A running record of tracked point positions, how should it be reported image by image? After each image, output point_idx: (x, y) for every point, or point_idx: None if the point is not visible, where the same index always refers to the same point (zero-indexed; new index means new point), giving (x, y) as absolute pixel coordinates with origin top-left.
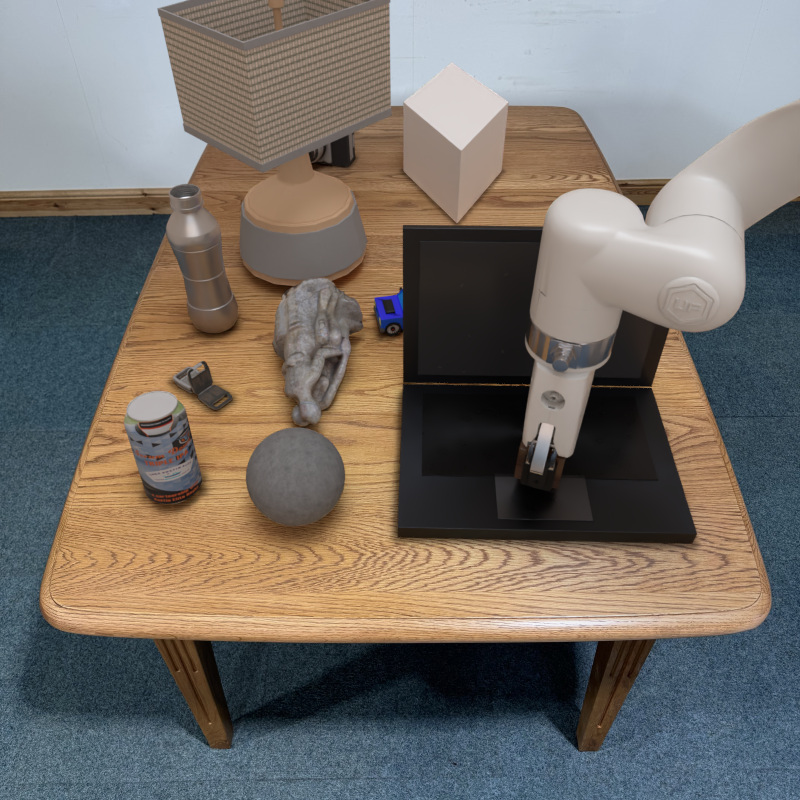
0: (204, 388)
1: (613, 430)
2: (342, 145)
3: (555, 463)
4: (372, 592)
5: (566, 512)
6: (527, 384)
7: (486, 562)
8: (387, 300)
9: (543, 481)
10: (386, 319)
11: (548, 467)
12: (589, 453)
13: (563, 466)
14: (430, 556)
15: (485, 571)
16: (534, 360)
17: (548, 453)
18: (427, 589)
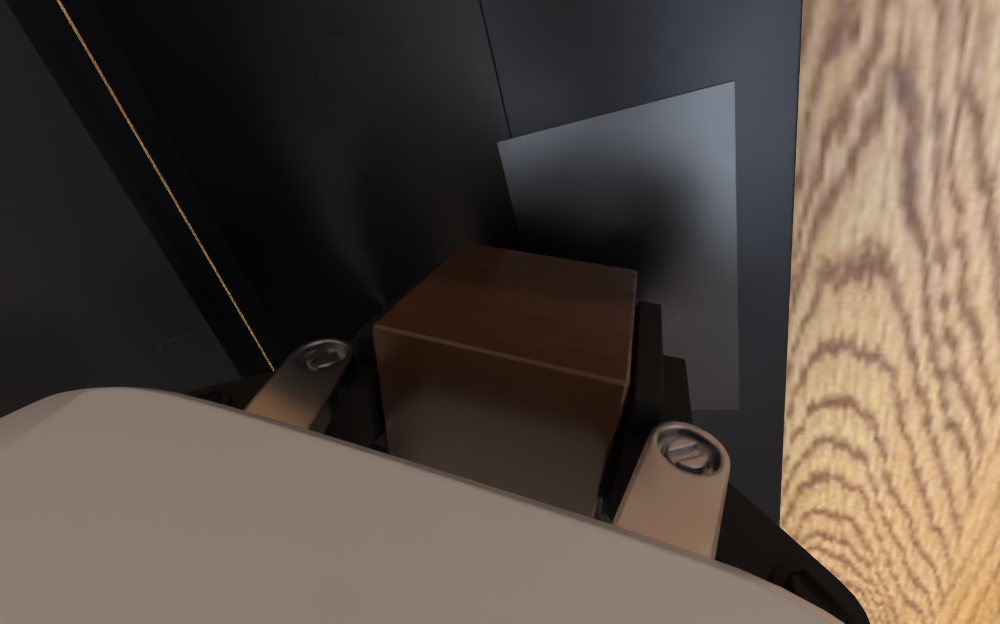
0: None
1: (257, 44)
2: None
3: (639, 409)
4: (943, 613)
5: (696, 199)
6: (243, 322)
7: (863, 401)
8: None
9: (685, 387)
10: None
11: (846, 610)
12: (392, 130)
13: (626, 347)
14: (830, 511)
15: (902, 405)
16: (154, 364)
17: (591, 455)
18: (954, 527)
